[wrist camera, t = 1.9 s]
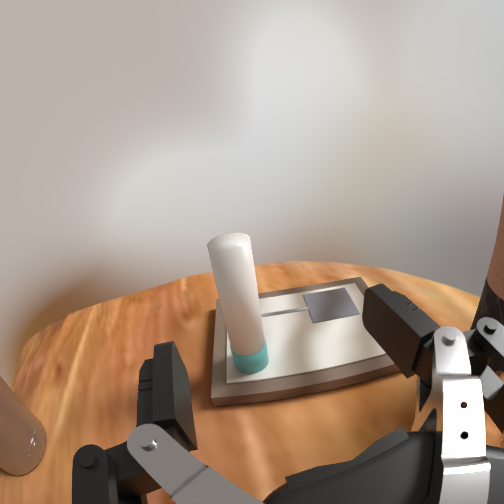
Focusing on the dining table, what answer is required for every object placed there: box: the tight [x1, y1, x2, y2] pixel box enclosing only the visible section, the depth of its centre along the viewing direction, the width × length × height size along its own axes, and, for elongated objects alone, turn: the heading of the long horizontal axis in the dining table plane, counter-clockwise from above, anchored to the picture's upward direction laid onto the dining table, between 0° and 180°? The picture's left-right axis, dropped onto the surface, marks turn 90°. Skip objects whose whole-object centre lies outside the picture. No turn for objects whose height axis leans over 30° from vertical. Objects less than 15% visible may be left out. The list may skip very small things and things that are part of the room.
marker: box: [207, 233, 269, 374], centre depth 24 cm, size 3×3×13 cm
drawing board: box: [211, 277, 400, 406], centre depth 31 cm, size 20×16×2 cm
